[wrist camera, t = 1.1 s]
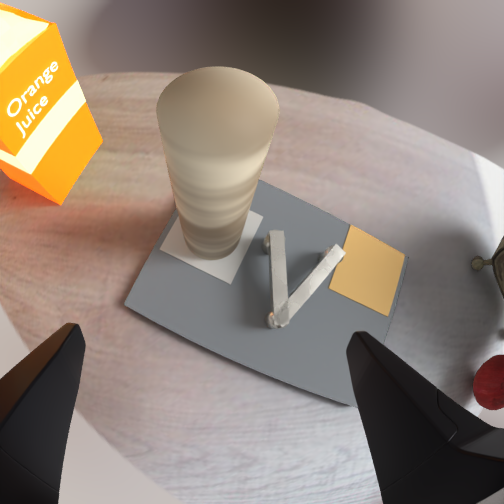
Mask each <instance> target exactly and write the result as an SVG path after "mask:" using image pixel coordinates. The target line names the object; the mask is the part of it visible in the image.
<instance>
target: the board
mask: <svg viewBox="0 0 504 504" xmlns="http://www.w3.org/2000/svg"><path fill="white" fill-rule="evenodd" d="M270 230H279V231H284V236H285V257H286V273H287V290H288V297H289V296H290V294H291V293H292V292H293V291H294V290H295V289H296V288H297V287H298V285H299V284H300V283H301V282H302V281H303V280H304V279H305V277H306V276H307V275H308V274H309V273H310V272H311V271H312V269H313V268H314V267H315V266H316V265H317V264H318V256H319V255H320V254H321V253H322V252H323V251H325V250H326V249H327V248H328V247H330V246H332V245H335V244H337V245H338V246H339V247H340V248H341V249H342V250H343V251H345V252H346V254H345V255H344V257H343V260H342V261H341V262H340V263H338V264H337V265H336V266H335V267H334V268H333V270H332V271H331V272H330V273H329V274H328V276H327V277H326V278H325V279H324V280H323V282H322V283H321V284H320V285H319V286H318V288H317V289H316V290H315V291H314V292H313V294H312V295H311V296H310V297H309V298H308V299H307V301H306V302H305V303H304V304H303V305H302V306H301V307H300V309H299V310H298V311H297V312H296V313H295V314H294V315H293V317H292V318H291V319H290V321H289V324H288V325H287V326H286V327H284V328H280V329H271V328H269V327H267V325H266V324H265V316H266V314H267V313H268V312H269V311H271V303H270V280H269V260H268V255H266V254H265V253H264V252H263V251H262V243H263V241H264V239H265V237H266V235H267V234H268V232H269V231H270ZM408 258H409V257H407V256H405V254H403V253H401V252H399V251H398V250H396V249H394V248H392V247H391V246H389V245H387V244H385V243H384V242H382V241H380V240H378V239H377V238H375V237H373V236H371V235H369V234H367V233H366V232H364V231H362V230H360V229H358V228H356V227H355V226H353V225H350V224H348V223H346V222H344V221H342V220H340V219H338V218H336V217H334V216H333V215H331V214H329V213H327V212H325V211H323V210H321V209H319V208H317V207H315V206H313V205H311V204H309V203H307V202H305V201H303V200H301V199H299V198H297V197H295V196H293V195H291V194H289V193H287V192H285V191H283V190H281V189H278V188H276V187H274V186H272V185H270V184H268V183H266V182H264V181H261V180H258V184H257V187H256V190H255V193H254V196H253V200H252V203H251V206H250V209H249V212H248V216H247V219H246V222H245V225H244V229H243V232H242V235H241V238H240V242H239V244H238V246H237V248H236V249H235V250H234V251H233V252H232V253H231V254H230V255H228V256H227V257H225V258H222V259H219V260H206V259H202V258H200V257H198V256H196V255H195V254H193V253H192V252H191V251H190V249H189V248H188V247H187V245H186V242H185V239H184V235H183V232H182V228H181V224H180V220H179V215H178V211H177V208H176V210H175V211H174V213H173V215H172V216H171V218H170V220H169V222H168V223H167V225H166V227H165V228H164V230H163V232H162V234H161V235H160V237H159V239H158V241H157V243H156V244H155V246H154V248H153V250H152V252H151V253H150V255H149V257H148V259H147V261H146V263H145V264H144V266H143V268H142V270H141V272H140V274H139V276H138V278H137V280H136V281H135V283H134V285H133V287H132V289H131V291H130V293H129V295H128V297H127V299H126V301H125V303H124V305H125V306H127V307H129V308H131V309H132V310H134V311H136V312H138V313H139V314H141V315H143V316H145V317H147V318H149V319H150V320H152V321H154V322H156V323H158V324H160V325H161V326H163V327H165V328H167V329H169V330H171V331H173V332H175V333H177V334H179V335H181V336H183V337H185V338H187V339H189V340H191V341H193V342H195V343H197V344H199V345H201V346H203V347H205V348H207V349H209V350H211V351H213V352H216V353H218V354H220V355H222V356H224V357H226V358H229V359H231V360H233V361H235V362H237V363H240V364H242V365H244V366H247V367H249V368H251V369H254V370H256V371H258V372H261V373H263V374H266V375H268V376H270V377H273V378H275V379H278V380H280V381H283V382H285V383H288V384H291V385H293V386H296V387H298V388H301V389H304V390H306V391H309V392H312V393H315V394H318V395H320V396H323V397H326V398H329V399H332V400H335V401H338V402H341V403H344V404H347V405H350V406H353V407H356V408H358V406H357V403H356V399H355V396H354V392H353V387H352V382H351V377H350V371H349V366H348V361H347V356H346V349H347V346H348V343H349V341H350V339H351V336H352V334H353V333H354V332H355V331H367V332H368V333H369V334H370V335H372V336H373V337H374V338H375V339H377V340H378V341H379V342H381V343H382V344H384V341H385V338H386V335H387V332H388V329H389V326H390V323H391V320H392V317H393V313H394V310H395V307H396V303H397V300H398V296H399V293H400V289H401V285H402V282H403V278H404V274H405V270H406V266H407V262H408Z"/></svg>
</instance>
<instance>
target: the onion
mask: <svg viewBox="0 0 504 504" xmlns="http://www.w3.org/2000/svg"><path fill="white" fill-rule="evenodd" d="M473 392H474V396H475V398H476V401H477V402H478V403H479V405H480V406H482V407H484V408H486V409H489V410H498V409H501V408H503V407H504V355H496V356H493V357H491V358H490V359H489V360H487V361H486V362H485V363H483V365H482V366H481V367H480V368H479V370H478V371H477V373H476V375H475V377H474V382H473Z"/></svg>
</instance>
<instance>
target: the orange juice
mask: <svg viewBox="0 0 504 504" xmlns="http://www.w3.org/2000/svg"><path fill="white" fill-rule="evenodd" d="M102 142H103V140H102V138H101V136H100V133H99V131H98V129H97V127H96V125H95V122H94V120H93V118H92V116H91V113H90V111H89V109H88V106H87V104H86V100H85V98H84V95H83V93H82V90H81V88H80V85H79V83H78V80H76V77H75V75H74V72H73V70H72V67H71V64H70V62H69V59H68V57H67V54H66V51H65V49H64V46H63V43H62V40H61V37H60V34H59V32H58V28H57V25H56V23H51V22H48V21H46V20H44V19H41V18H39V17H36V16H34V15H32V14H29V13H27V12H24V11H21V10H19V9H16V8H13V7H11V6H8V5H5V4H2V3H0V168H1V169H2V170H3V171H4V172H5V173H6V174H7V175H8V176H9V177H10V178H11V179H13V180H14V181H16V182H18V183H20V184H22V185H24V186H25V187H27V188H29V189H31V190H33V191H35V192H37V193H38V194H40V195H42V196H44V197H46V198H48V199H50V200H52V201H53V202H55V203H57V204H59V205H61V204H62V203H63V201H64V199H65V197H66V196H67V194H68V193H69V191H70V189H71V188H72V186H73V184H74V183H75V181H76V180H77V178H78V177H79V175H80V174H81V172H82V171H83V169H84V168H85V166H86V165H87V163H88V162H89V160H90V159H91V157H92V156H93V154H94V153H95V152H96V150H97V149H98V147H99V146H100V145H101V143H102Z"/></svg>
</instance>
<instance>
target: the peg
mask: <svg viewBox="0 0 504 504" xmlns="http://www.w3.org/2000/svg"><path fill="white" fill-rule="evenodd" d="M278 117H279V104H278V100H277V98H276V96H275V94H274V92H273V91H272V89H271V88H270V87H269V86H268V85H267V84H266V83H265V82H263V81H262V80H261V79H259V78H258V77H256V76H254V75H252V74H250V73H248V72H245V71H242V70H239V69H234V68H229V67H207V68H201V69H196V70H193V71H190V72H187V73H185V74H183V75H181V76H179V77H178V78H176V79H175V80H173V81H172V82H171V83H170V84H169V85H168V86H167V87H166V88H165V89H164V90H163V92H162V93H161V95H160V97H159V100H158V103H157V119H158V124H159V129H160V134H161V139H162V144H163V149H164V154H165V158H166V163H167V168H168V172H169V177H170V181H171V186H172V190H173V194H174V199H175V203H176V207H177V211H178V215H179V220H180V224H181V228H182V232H183V235H184V239H185V242H186V245H187V247H188V248H189V249H190V251H191V252H192V253H193V254H195V255H196V256H198V257H200V258H202V259H206V260H219V259H222V258H225V257H227V256H228V255H230V254H231V253H232V252H233V251H234V250H235V249H236V248H237V246H238V244H239V242H240V238H241V235H242V232H243V229H244V225H245V222H246V219H247V216H248V212H249V209H250V206H251V203H252V200H253V196H254V193H255V190H256V187H257V184H258V180H259V177H260V174H261V171H262V168H263V165H264V161H265V158H266V155H267V152H268V149H269V146H270V143H271V140H272V136H273V133H274V130H275V127H276V124H277V121H278Z"/></svg>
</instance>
